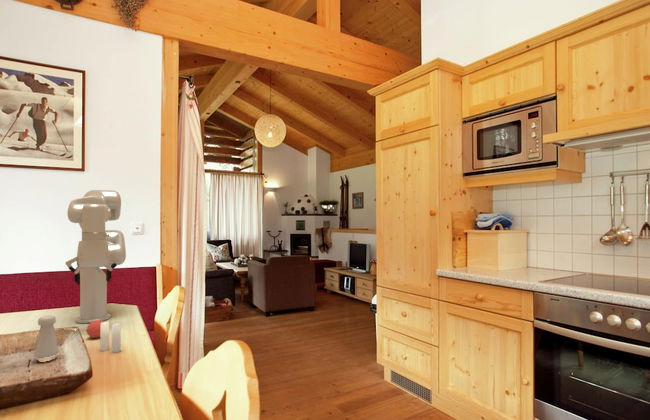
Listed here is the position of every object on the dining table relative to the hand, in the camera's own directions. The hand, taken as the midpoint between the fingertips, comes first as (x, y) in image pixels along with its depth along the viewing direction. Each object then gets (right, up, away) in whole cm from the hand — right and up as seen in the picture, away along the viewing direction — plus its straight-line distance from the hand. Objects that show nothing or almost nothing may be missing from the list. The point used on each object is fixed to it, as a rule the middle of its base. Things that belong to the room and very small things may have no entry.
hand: (93, 282), depth 141 cm
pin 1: (+16, -18, -20) cm, 31 cm away
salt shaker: (+4, -18, -29) cm, 34 cm away
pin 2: (+21, -18, -22) cm, 35 cm away
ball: (+6, -15, -8) cm, 18 cm away
